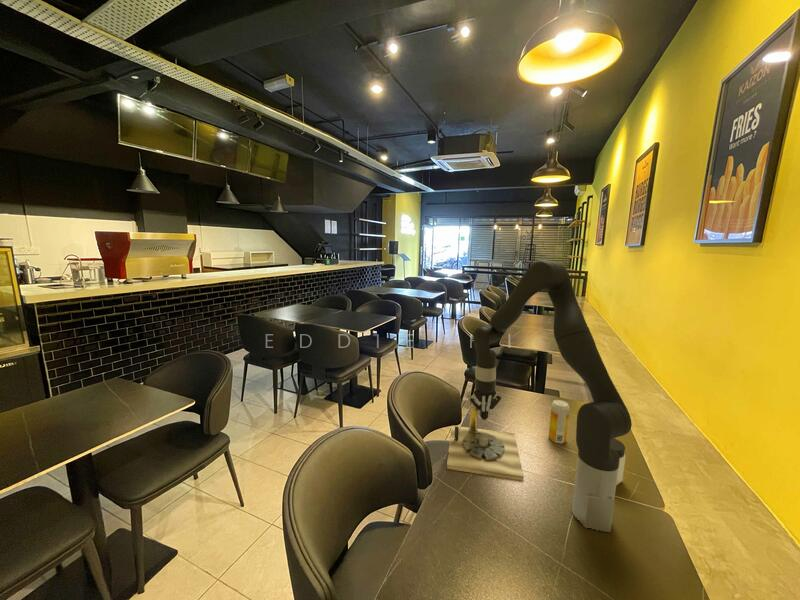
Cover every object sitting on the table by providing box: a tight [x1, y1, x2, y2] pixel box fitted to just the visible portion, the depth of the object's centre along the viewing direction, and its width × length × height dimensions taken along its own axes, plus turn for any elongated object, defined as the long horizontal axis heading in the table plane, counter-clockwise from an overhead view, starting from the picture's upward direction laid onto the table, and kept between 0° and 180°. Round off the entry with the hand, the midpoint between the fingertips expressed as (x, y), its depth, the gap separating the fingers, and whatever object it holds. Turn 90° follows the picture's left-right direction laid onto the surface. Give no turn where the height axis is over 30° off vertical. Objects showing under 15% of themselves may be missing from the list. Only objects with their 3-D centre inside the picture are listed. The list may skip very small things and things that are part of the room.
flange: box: [463, 407, 505, 460], centre depth 115 cm, size 18×14×9 cm
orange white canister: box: [548, 399, 571, 445], centre depth 120 cm, size 6×6×15 cm
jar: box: [610, 438, 627, 486], centre depth 101 cm, size 9×8×12 cm
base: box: [446, 425, 525, 482], centre depth 113 cm, size 24×24×6 cm
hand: (484, 418), depth 123 cm, fingers closed
